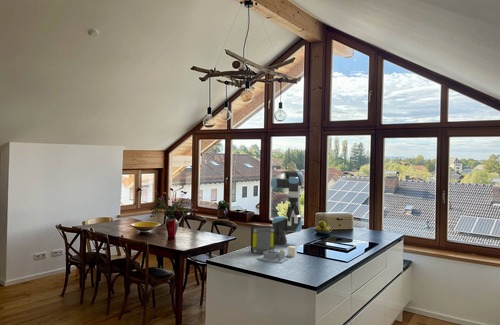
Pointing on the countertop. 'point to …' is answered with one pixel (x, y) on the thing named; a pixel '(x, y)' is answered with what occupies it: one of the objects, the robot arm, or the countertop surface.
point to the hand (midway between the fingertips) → (292, 224)
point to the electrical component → (262, 239)
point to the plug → (292, 251)
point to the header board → (273, 256)
